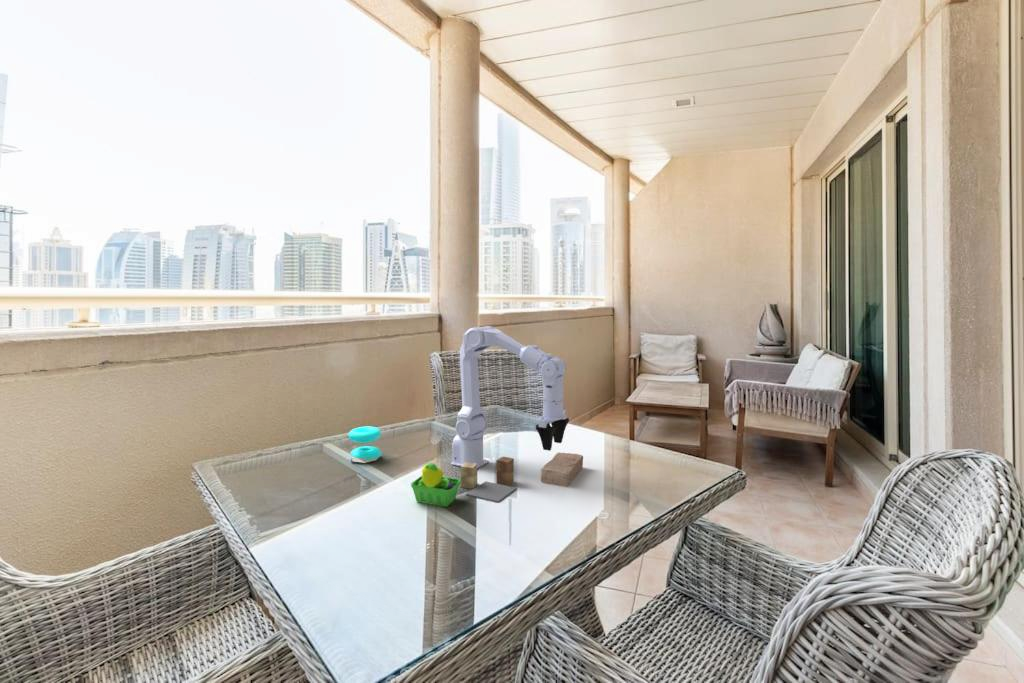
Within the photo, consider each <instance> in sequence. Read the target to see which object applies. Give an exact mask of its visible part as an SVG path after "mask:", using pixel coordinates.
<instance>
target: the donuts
mask: <svg viewBox="0 0 1024 683" xmlns="http://www.w3.org/2000/svg"><path fill="white" fill-rule="evenodd" d="M381 434H382V433H381V430H380V428H378V427H375V426H366V425H365V426H359V427H356V428H355V427H354V428H352V429H351V430H350V431H349V432H348V438H349V440H351V441H352V442H354V443H357V444H366V443H371V442H374V441H376V440H378V439H379V438H380V436H381ZM350 454H351V455H352V456H354V457H357V458H364V459H372V458H377V457H379V456H382V451H381V450H380V449H379V448H378V447H376V446H373V445H372V446H371V445H370V446H369V445H367V446H364V445H363V446H359V447H356V448H354V449H353V450H352V451H351V452H350V453H349V455H350Z"/></svg>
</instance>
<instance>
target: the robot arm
mask: <svg viewBox="0 0 1024 683" xmlns="http://www.w3.org/2000/svg"><path fill="white" fill-rule="evenodd" d="M462 337H463V339H462V343H461V347H460V349H459V364H460V365H459V366H460V369H459V370H460V385H461V386H460V387H461V388H460V389H461V405H462V406H461V409H460V410H459V411H458V413H457V417H456V418H457V421H456V423H455V432H456V435H455V436H454V438H453V440H452V444H451V448H452V451H451V452H452V453H451V454H452V462H450V465H453V466H458V467H461V466H462V465H463V464H464V463H465V462H466V463H477V469H479V468H481V467H482V466H484V465H486V464H487V463H489V462H490V460H489V459H484V435H485V430H486V429H487V426H488V419H487V416H485V415H486V414H485V409H484V408H483V407H482V406H481V403H480V402H481V401H480V384H479V383H480V382H479V362H478V357H479V356H480V355H481V353H482V352H484V351H485V350H486V349H489V348H490V347H493V346H496V347H499V348H502V349H503V350H505V351H508V352H510V353H512V354H514V355H516V356H518V357H519V358H520V359H519V360H520V362H521V363H522V364H524V365H526V366H528V367H530V368H531V369H533V370H535V371H537V372H538V373H539V374H540V377H541V378H542V415H541V416H540V419H538V423H537V424H536V425H535V430H536V431H537V433H538V435H539V437H540V441H541V446H542V450H543V451H544V450H545V451H548V452H549V451H552V447H553V441H554V443H556V444H562V442H563V439H564V435H565V430H566V428H567V426H568V423H569V422H570V418H568V417H567V410H566V409H564V374H565V373H566V371H567V364H566V362H565V360H564V359H563V358H561V356H552V353H550V352H548V353H547V352H545V351H543V350H541V349H539V346H538V345H536V344H533V345H531V344H529V345H526V346H525V345H524V344H522V343H520V342H519V341H517V340H515V339H514V338H512V337H511V336H509V335H507V334H506V333H504V332H503V331H501V330H500V329H498V328H495V327H493V326H491V325H486V326H481V327H479V326H478V327H471V328H469V329H468V330H466V331H465V332H464V333H463V334H462Z"/></svg>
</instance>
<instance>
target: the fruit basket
mask: <svg viewBox="0 0 1024 683" xmlns="http://www.w3.org/2000/svg"><path fill="white" fill-rule="evenodd" d="M421 472H422V474H421V476H419V477H417V479H415V480H414V481H412V482H411V483H410V486H411V488H412V490H413V494H414V497H415V501H416V502H417V501H418V502H417V503H424V504H428V503H432V505H434V504H435V506H442V507H448V506H449V505H450V504H451V503H453V501H455V500H456V498H457V493H458V490H459V485H461V479H460V478H459V479H458V478H453V477H445V476H444V472H443V470H442V469H441V468H440V467H438V466H436V464H435V463H434V462H428V463H427V464H424V466H423V468H422V470H421Z"/></svg>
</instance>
